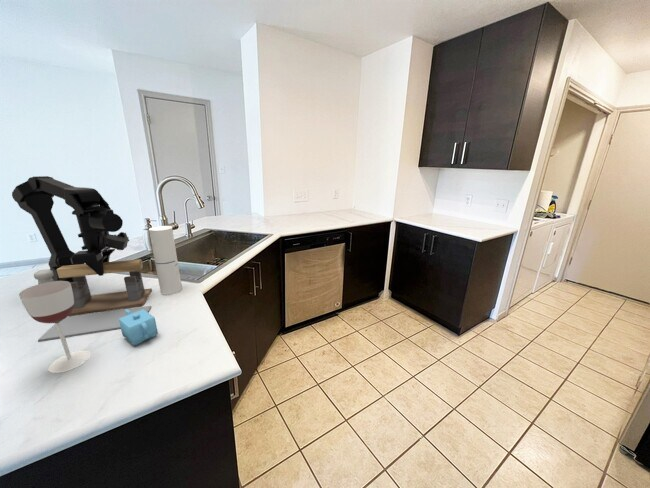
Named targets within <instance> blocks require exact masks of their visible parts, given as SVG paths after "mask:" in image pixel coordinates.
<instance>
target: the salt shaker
mask: <svg viewBox="0 0 650 488" xmlns="http://www.w3.org/2000/svg"><path fill="white" fill-rule="evenodd" d="M53 275H54V274H53V271H52V270H50V268H49V269H47V268H46V269H40V270H38V271H36V272H34V273H33V278H34V279H35V280H37V282H38V283H37V285H38V284H42V283H47V282H52V281H54V280H53V279H52V276H53Z"/></svg>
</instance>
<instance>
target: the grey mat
mask: <svg viewBox="0 0 650 488" xmlns="http://www.w3.org/2000/svg"><path fill="white" fill-rule="evenodd" d="M127 309H128V310H130V312H131V313H135V312H137V311H140V310H142V309H144V310H145V311H147V312H148V313H149V312H150V310H151V309H152V305H145V306H141V307H134V308H127ZM125 310H126V309H119V310H112V311H105V312H97V313H90V314H83V315H75V316H68V317H66V318H65V319H63V320H62V321H60V324H61V327H62V330H63V333H64V336H65V338H70V337H78V336H83V335H84V336H85V335H90V334H97V333H104V332H109V331H115V330H121V327H120V323H119V318H122V317H124V316H127V313H126V311H125ZM149 314H150V313H149ZM58 339H60V336H59V333H58V330H57V327H56V324H55V323H53V325H52V326H51V327H50V328H49V329H48V330H47V331H46V332H45V333H43V334H42V335H41V336H40V337H39V338H38V339H37V342H38V343H39V342H45V341H46V342H47V341H51V340H58Z"/></svg>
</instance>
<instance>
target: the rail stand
mask: <svg viewBox="0 0 650 488" xmlns="http://www.w3.org/2000/svg"><path fill="white" fill-rule="evenodd" d="M128 272H129V276H125V277H123V281H124V285H125V289H126V291H117V292H109V293H101V294H91V291H90V287H89V283H88V279H87V275H86V276H76V277H73V282H70V283H71V287H72V291H73V297H74V307H73V310H72V312H71V313H70V315H69V316H67V317H72V316H79V315H86V314H94V313H101V312H108V311H115V310H123V309H130V308H137V307H144V305H145V303H146V301H147V300H148V298H149V296H150V295H151V293H152V291H153V289H152V287H151V288H145V286H144V281H143V277H142V273H141V272H142V271H141V270H138V271H128Z"/></svg>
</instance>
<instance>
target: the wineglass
mask: <svg viewBox="0 0 650 488" xmlns="http://www.w3.org/2000/svg"><path fill="white" fill-rule="evenodd" d="M18 296H19V299H20V300H21V303H22V305H23V307H24V309H25V311H26V312H27V314H28V316H29V317H31V318H32V319H33V320H35V322H37V323H38V322H39V323H42V324H56V327H57V330H58V333H59V336H60V338H59V339H60V342H61V344H62V347H63V350H64V353H65V355H63V356H61V357H59V358H57V359H56V360H54V361H53V362H52V363H51V364H50V365H49V367H48V371H49V372H50V373H52V374H53V373H54V374H57V373H65V372H68V371H71V370H72V369H76V368H78V367H80V366H82V365H83V364H84V363H86V362H87V361H88V360H89V359H90V357H91V352H90V351H89V350H76V351H72V352H70V349H69V345H68V342H67V339H66V337H65V336H64V333H63V330H62V327H61V324H60V321H62V320H63V319H65V318H66V317H67V316H68V317H70V316H69V315H70V313H71V312H72V310H73V307H74V297H73V291H72V287H71V283H70V282H68V281H52V282H47V283H42V284H38V283H37V284H35V285H33V286H30V287H27V288H25V289H23V290H21V291H20V292H19V293H18Z"/></svg>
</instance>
